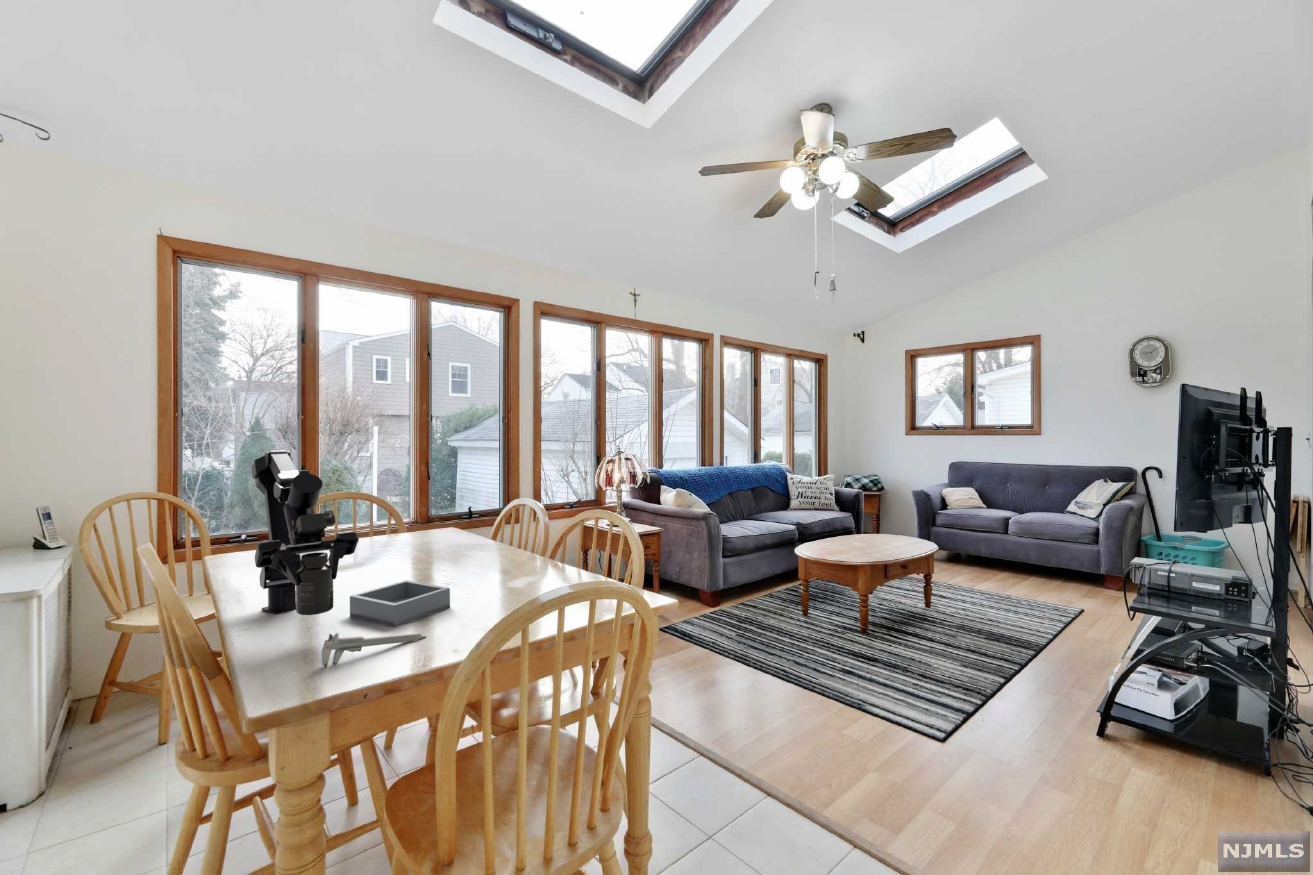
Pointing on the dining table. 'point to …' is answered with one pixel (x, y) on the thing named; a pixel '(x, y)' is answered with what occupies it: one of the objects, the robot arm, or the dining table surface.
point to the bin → (399, 603)
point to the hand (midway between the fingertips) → (316, 581)
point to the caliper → (360, 644)
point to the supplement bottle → (314, 585)
